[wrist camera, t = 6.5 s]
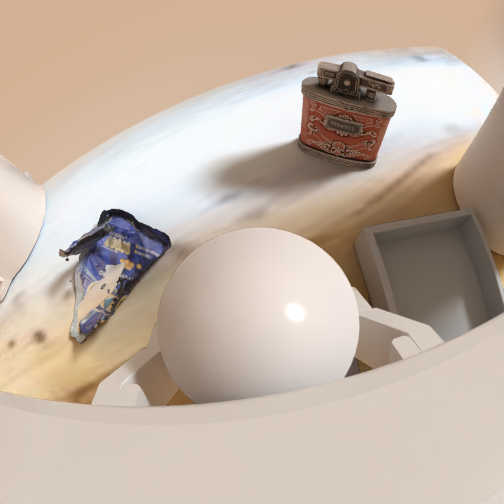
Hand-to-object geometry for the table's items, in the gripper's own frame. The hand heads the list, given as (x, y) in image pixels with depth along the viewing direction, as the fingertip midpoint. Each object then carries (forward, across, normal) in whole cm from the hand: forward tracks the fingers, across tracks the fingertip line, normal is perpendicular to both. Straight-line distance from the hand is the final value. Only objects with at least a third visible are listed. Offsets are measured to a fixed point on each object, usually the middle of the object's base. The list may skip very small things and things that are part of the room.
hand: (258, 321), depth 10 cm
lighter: (+19, -11, -4) cm, 22 cm away
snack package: (+13, +12, +3) cm, 18 cm away
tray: (+7, -15, +7) cm, 18 cm away
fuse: (+3, 0, +4) cm, 5 cm away
